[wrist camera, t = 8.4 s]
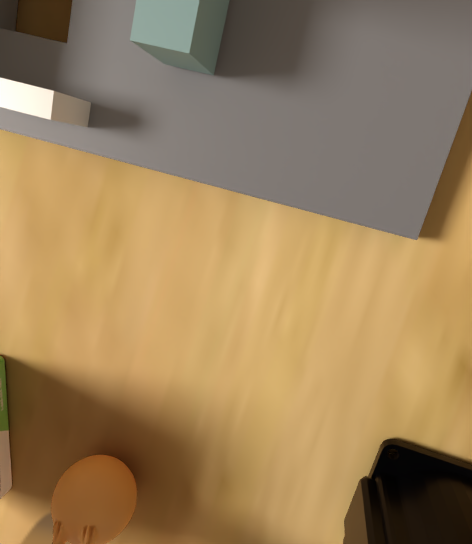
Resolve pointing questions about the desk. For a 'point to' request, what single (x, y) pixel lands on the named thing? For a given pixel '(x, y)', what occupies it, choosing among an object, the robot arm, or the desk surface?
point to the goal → (43, 103)
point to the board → (269, 100)
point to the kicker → (181, 31)
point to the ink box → (4, 436)
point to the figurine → (93, 501)
